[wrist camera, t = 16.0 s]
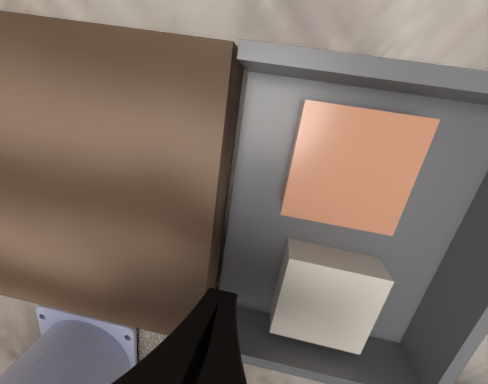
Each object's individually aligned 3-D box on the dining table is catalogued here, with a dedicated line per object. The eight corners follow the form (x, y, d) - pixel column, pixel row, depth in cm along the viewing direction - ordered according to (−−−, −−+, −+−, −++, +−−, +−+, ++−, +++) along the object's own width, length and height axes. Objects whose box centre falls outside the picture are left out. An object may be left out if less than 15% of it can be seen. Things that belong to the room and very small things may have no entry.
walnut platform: (213, 303, 17) (200, 343, 14) (16, 258, 18) (-34, 286, 15) (245, 57, 11) (233, 41, 9) (-38, 18, 13) (-128, -6, 10)
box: (403, 346, 16) (435, 409, 12) (217, 304, 17) (202, 352, 13) (533, 96, 10) (649, 92, 7) (251, 58, 11) (239, 38, 8)
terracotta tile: (280, 214, 11) (280, 199, 13) (392, 236, 11) (376, 216, 13) (305, 99, 9) (301, 100, 11) (440, 119, 9) (412, 117, 11)
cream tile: (269, 332, 14) (270, 305, 15) (360, 354, 13) (350, 324, 15) (289, 258, 12) (288, 237, 14) (394, 281, 11) (378, 257, 13)
